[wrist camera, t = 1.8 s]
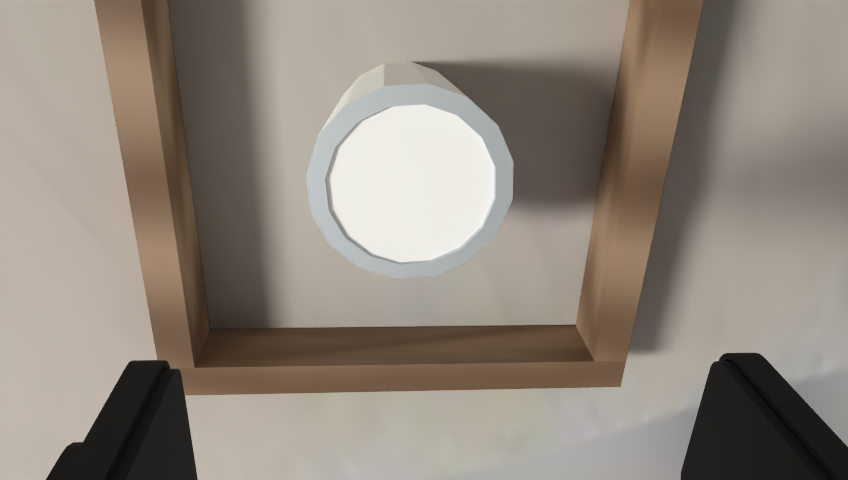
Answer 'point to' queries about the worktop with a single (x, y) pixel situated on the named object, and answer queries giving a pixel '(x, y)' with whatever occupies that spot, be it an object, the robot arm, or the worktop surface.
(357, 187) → the white cup
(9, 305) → the worktop surface
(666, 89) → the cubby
